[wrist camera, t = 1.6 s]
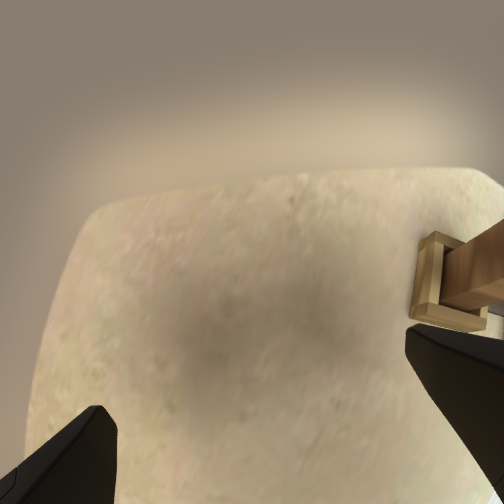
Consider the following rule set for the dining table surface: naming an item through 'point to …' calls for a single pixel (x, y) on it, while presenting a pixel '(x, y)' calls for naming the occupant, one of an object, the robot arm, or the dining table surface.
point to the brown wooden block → (474, 272)
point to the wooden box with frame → (429, 289)
